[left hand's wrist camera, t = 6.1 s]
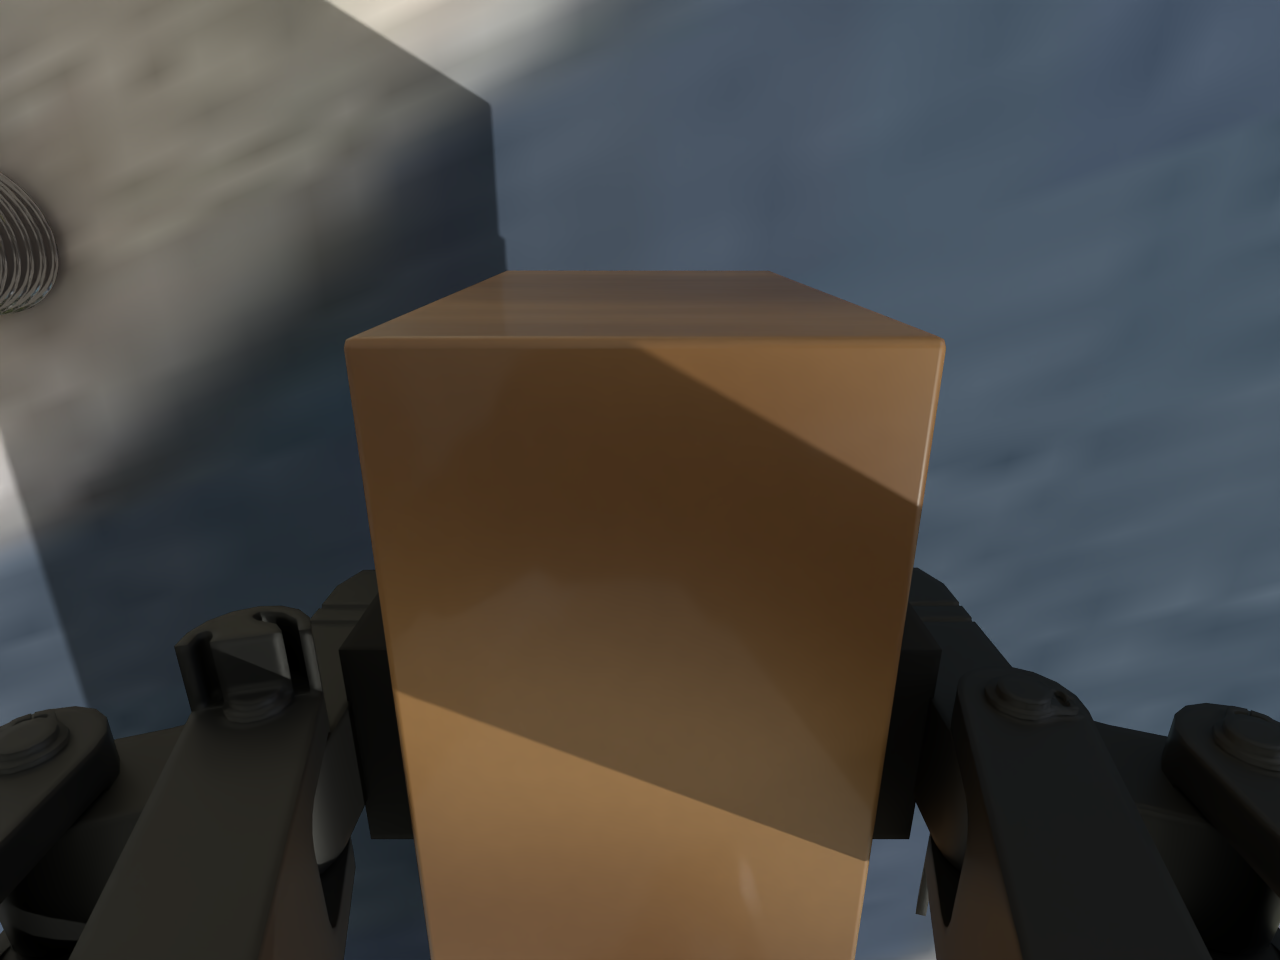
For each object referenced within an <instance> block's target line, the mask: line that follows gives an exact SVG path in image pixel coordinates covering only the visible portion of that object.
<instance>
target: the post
mask: <svg viewBox="0 0 1280 960" xmlns="http://www.w3.org/2000/svg"><path fill="white" fill-rule="evenodd" d="M945 351H946V346H945V341H944V339H942V338H940V337H938V336H936V335H933V334H930V333H928V332H925V331H923V330H920V329H917V328H915V327H912V326H910V325H907V324H905V323H902V322H899V321H897V320H894V319H892V318H889V317H886V316H884V315H881V314H879V313H876V312H873V311H871V310H868V309H866V308H863V307H861V306H858V305H855V304H853V303H850V302H848V301H845V300H842V299H840V298H837V297H835V296H832V295H830V294H827V293H824V292H822V291H819V290H817V289H814V288H811V287H809V286H806V285H804V284H801V283H798V282H796V281H793V280H791V279H788V278H786V277H783V276H780V275H778V274H775V273H773V272H770V271H505V272H503V273H501V274H498V275H496V276H494V277H491V278H489V279H486V280H484V281H482V282H479V283H477V284H475V285H472V286H470V287H468V288H465V289H463V290H461V291H458V292H456V293H454V294H451V295H449V296H447V297H444V298H442V299H440V300H437V301H435V302H432V303H430V304H428V305H425V306H423V307H421V308H418V309H416V310H414V311H411V312H409V313H407V314H404V315H402V316H400V317H397V318H395V319H393V320H390V321H388V322H386V323H383V324H381V325H378V326H376V327H374V328H371V329H369V330H367V331H364V332H362V333H360V334H357V335H355V336H353V337H350V338H348V339H346V341H345V345H344V352H345V359H346V366H347V373H348V380H349V387H350V394H351V401H352V408H353V416H354V423H355V430H356V437H357V444H358V451H359V458H360V465H361V472H362V479H363V486H364V493H365V500H366V507H367V514H368V521H369V528H370V535H371V542H372V549H373V556H374V563H375V570H376V577H377V584H378V591H379V598H380V605H381V612H382V619H383V626H384V633H385V640H386V647H387V654H388V661H389V668H390V676H391V683H392V690H393V697H394V704H395V711H396V718H397V725H398V732H399V739H400V746H401V753H402V760H403V767H404V774H405V781H406V788H407V795H408V802H409V809H410V816H411V823H412V830H413V837H414V844H415V851H416V858H417V865H418V872H419V879H420V886H421V893H422V900H423V907H424V914H425V921H426V928H427V936H428V943H429V950H430V957H431V960H854V959H855V952H856V946H857V939H858V932H859V926H860V919H861V912H862V905H863V899H864V892H865V885H866V879H867V872H868V865H869V859H870V852H871V845H872V839H873V832H874V825H875V819H876V812H877V805H878V799H879V792H880V785H881V779H882V772H883V765H884V759H885V752H886V745H887V738H888V732H889V725H890V718H891V712H892V705H893V698H894V692H895V685H896V678H897V672H898V665H899V658H900V652H901V645H902V638H903V632H904V625H905V618H906V612H907V605H908V598H909V591H910V585H911V578H912V571H913V565H914V558H915V551H916V545H917V538H918V531H919V525H920V518H921V511H922V505H923V498H924V491H925V485H926V478H927V471H928V465H929V458H930V451H931V445H932V438H933V431H934V424H935V418H936V411H937V404H938V398H939V391H940V384H941V378H942V371H943V364H944V358H945Z"/></svg>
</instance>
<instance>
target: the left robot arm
mask: <svg viewBox="0 0 1280 960" xmlns="http://www.w3.org/2000/svg"><path fill="white" fill-rule="evenodd" d="M971 619H972V618H971V616H970V615H969V614H968V613H967V612H966V610H965V609H964V608H963V607H962V606H959V602H958V601H957V599H956V598H955V597H954V596H953V595H952V593H951V592H950V591H949V590H948V588H947V587H946V586H945V585H944V584H943V583H942V582H940V581H938V580H937V579H935V578H933V577H932V576H930V575H929V574H927V573H925V572H924V571H922V570H920V569H919V568H913V571H912V578H911V585H910V591H909V598H908V605H907V612H906V618H905V625H904V632H903V638H902V645H901V652H900V658H899V665H898V672H897V678H896V685H895V692H894V698H893V705H892V712H891V718H890V725H889V732H888V738H887V745H886V752H885V759H884V765H883V772H882V779H881V785H880V792H879V799H878V805H877V812H876V819H875V825H874V832H873V839H909V837H910V832H911V826H912V820H913V814H914V809H915V803H917V806H918V808H919V810H920V812H921V814H922V816H923V818H924V821H925V823H926V825H927V827H928V829H929V831H930V836H929V841H928V846H927V852H926V857H925V863H924V868H923V873H922V879H921V884H920V889H919V895H918V901H917V908H916V914H919V915H923V916H926V912H927V906H928V901H929V904H930V912H931V920H932V928H933V936H934V943H935V951H936V959H937V960H1280V929H1279V928H1278V926H1279V924H1280V722H1277V721H1275V720H1273V719H1272V718H1270V717H1269V716H1266V715H1264V714H1261V713H1258V712H1255V711H1252V710H1251V711H1248V710H1247V709H1244V708H1240V707H1235V706H1227V705H1218V704H1210V703H1203V704H1195V705H1187V706H1185V707H1184V708H1182V709H1181V710H1180V711H1178V712H1177V713H1176V714H1175V716H1174V719H1173V722H1172V725H1171V728H1170V731H1169V734H1168V737H1167V736H1162V735H1157V734H1152V733H1147V732H1142V731H1137V730H1132V729H1127V728H1122V727H1117V726H1112V725H1107V724H1103V723H1100V722H1096V721H1093V719H1092V717H1091V715H1090V713H1089V711H1088V710H1087V708H1086V707H1085V706H1084V705H1083V703H1082V702H1081V701H1080V700H1079V698H1078V697H1077V696H1076V695H1074V694H1073V693H1072V692H1070V691H1069V690H1067V689H1066V688H1064V687H1063V686H1061V685H1060V684H1059V683H1057V682H1055V681H1053V680H1050V679H1048V678H1046V677H1043V676H1041V675H1039V674H1036V673H1034V672H1030V671H1026V670H1022V669H1018V668H1013V667H1012V666H1011V665H1010V664H1009V663H1008V662H1007V660H1006V659H1005V658H1004V657H1003V656H1002V654H1001V653H1000V652H999V651H998V649H997V648H996V647H995V646H994V645H993V643H992V642H991V641H990V640H989V638H988V637H987V636H986V635H985V634H984V632H983V631H982V630H981V629H980V627H979V626H978V625H977V624H976V623H975V622H972V620H971ZM174 648H175V651H176V655H177V659H178V663H179V666H180V670H181V674H182V677H183V681H184V685H185V689H186V692H187V696H188V700H189V704H190V707H191V711H192V712H191V714H190V716H189V718H188V720H187V722H186V724H185V725H182V726H178V727H174V728H170V729H165V730H160V731H155V732H150V733H145V734H140V735H135V736H130V737H125V738H120V739H115V740H114V739H113V736H112V732H111V729H110V726H109V723H108V720H107V717H106V716H104V715H103V714H102V713H100V712H99V711H98V710H96V709H92V708H85V707H77V706H74V707H65V708H57V709H48V710H43V711H39V712H35V713H34V714H32V715H31V714H28V715H25V716H22V717H19V718H16V719H14V720H12V721H11V722H10V723H7V724H5V725H3V726H1V727H0V922H1V924H2V927H3V929H4V930H3V931H2V933H1V934H0V960H344V953H345V945H346V937H347V930H348V922H349V914H350V906H351V898H352V890H353V883H354V875H355V859H354V852H353V847H352V841H351V834H352V832H353V830H354V827H355V825H356V823H357V821H358V819H359V817H360V814H361V812H362V810H363V808H364V806H366V812H367V817H368V823H369V829H370V835H371V839H414V837H413V830H412V823H411V816H410V809H409V802H408V795H407V788H406V781H405V774H404V767H403V760H402V753H401V746H400V739H399V732H398V725H397V718H396V711H395V704H394V697H393V690H392V683H391V676H390V668H389V661H388V654H387V647H386V640H385V633H384V626H383V619H382V612H381V605H380V598H379V591H378V584H377V577H376V570H363V571H361V572H359V573H358V574H356V575H354V576H353V577H351V578H349V579H348V580H346V581H345V582H343V583H341V584H340V585H338V586H337V587H336V588H335V589H334V591H333V592H332V593H331V594H330V596H329V597H328V598H327V599H326V600H325V602H324V603H323V604H322V608H319V609H318V610H317V612H316V613H315V614H314V615H313V616H312V618H311V619H310V617H308V616H307V615H306V614H304V613H303V612H302V611H300V610H299V609H294V608H289V607H285V606H258V607H253V608H248V609H243V610H239V611H234V612H231V613H228V614H225V615H222V616H220V617H217V618H214V619H212V620H209V621H207V622H205V623H203V624H202V625H200V626H198V627H197V628H195V629H193V630H192V631H190V632H188V633H187V634H186V635H185V636H184V637H183V638H182V639H181V640H180V641H179V642H178V643H177V644H176V645H175V646H174Z"/></svg>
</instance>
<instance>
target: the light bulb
mask: <svg viewBox="0 0 1280 960" xmlns="http://www.w3.org/2000/svg"><path fill="white" fill-rule="evenodd" d="M57 273H58V250H57V246H56V242H55V239H54V235H53V233H52V230H51V228H50V226H49V224H48V222H47V221H46V219H45V217H44V215H43V214H42V212H41V211H40V209H39V208H38V207H37V205H36V204H35V203H34V202H33V201H32V199H31V198H30V197H29V196H28V195H27V194H26V193H25V192H24V191H23V190H22V189H21V188H20V187H19V186H18V185H17V184H16V183H14V182H13V181H12V180H10V179H9V178H8V177H6V176H5V175H4V174H2V173H1V172H0V315H2V314H6V313H14V312H19V311H22V310H26V309H28V308H31V307H32V306H34V305H36V304H37V303H39V302H40V301H42V300H43V299H44V298H45V297H46V295H47V294H48V293H49V292H50V290H51V289H52V287H53V285H54V283H55V280H56V277H57Z"/></svg>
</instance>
